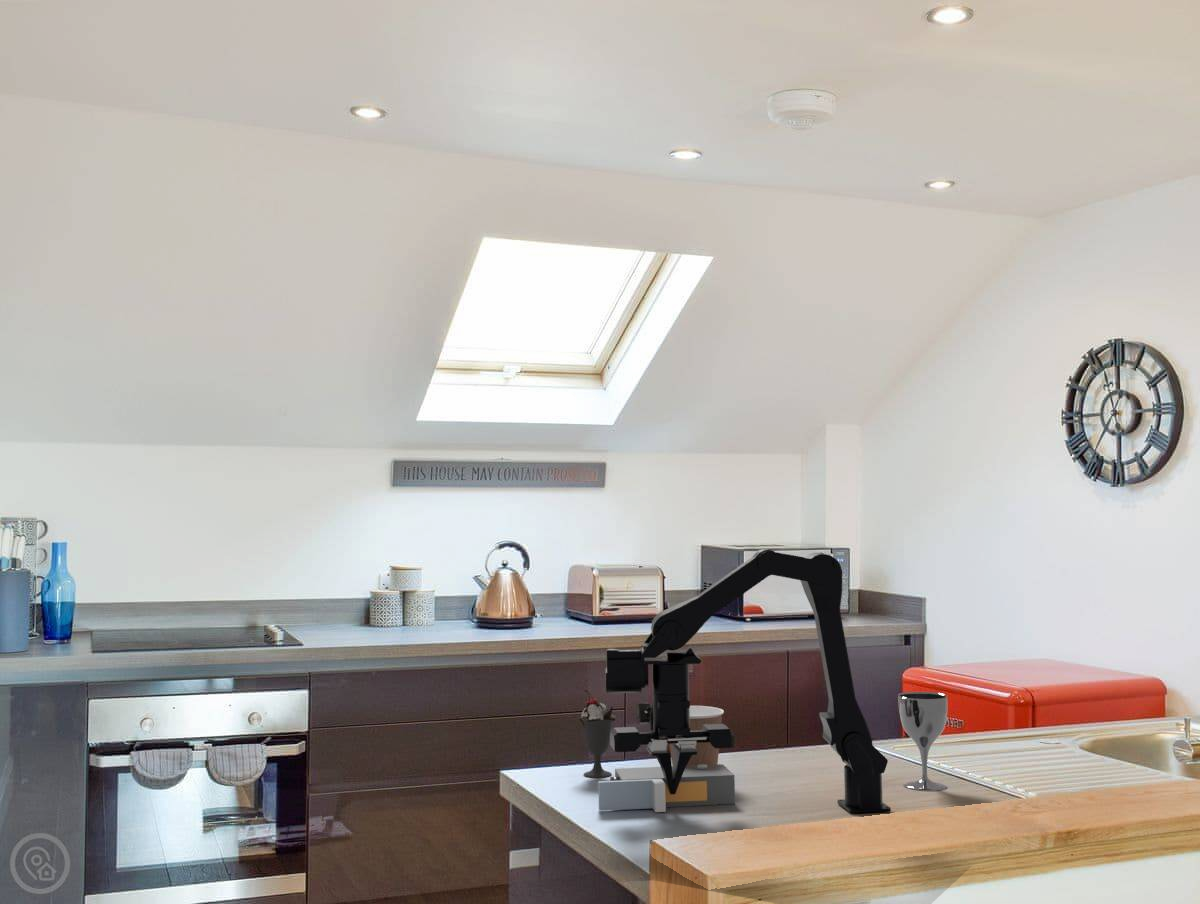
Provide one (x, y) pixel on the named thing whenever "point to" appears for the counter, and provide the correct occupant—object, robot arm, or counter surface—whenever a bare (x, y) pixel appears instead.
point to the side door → (632, 794)
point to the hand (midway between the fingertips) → (672, 793)
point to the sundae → (596, 733)
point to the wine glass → (923, 728)
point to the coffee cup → (697, 719)
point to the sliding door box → (690, 784)
